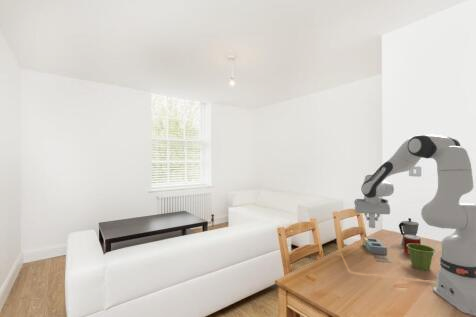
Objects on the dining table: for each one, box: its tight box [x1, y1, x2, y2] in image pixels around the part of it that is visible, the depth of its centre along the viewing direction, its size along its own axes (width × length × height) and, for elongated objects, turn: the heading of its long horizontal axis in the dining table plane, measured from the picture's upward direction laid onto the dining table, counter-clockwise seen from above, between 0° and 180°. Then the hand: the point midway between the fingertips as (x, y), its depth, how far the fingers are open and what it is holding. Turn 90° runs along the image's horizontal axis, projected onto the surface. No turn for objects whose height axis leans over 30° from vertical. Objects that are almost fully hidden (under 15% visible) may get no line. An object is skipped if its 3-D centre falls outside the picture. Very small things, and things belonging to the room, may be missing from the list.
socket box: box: [362, 237, 388, 255], centre depth 145 cm, size 16×9×5 cm, turn 165°
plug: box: [368, 213, 376, 229], centre depth 149 cm, size 4×4×10 cm
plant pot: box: [407, 243, 436, 271], centre depth 121 cm, size 12×12×11 cm
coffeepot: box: [398, 217, 420, 246], centre depth 153 cm, size 15×9×18 cm, turn 103°
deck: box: [370, 253, 391, 264], centre depth 131 cm, size 10×7×1 cm
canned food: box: [403, 235, 422, 256], centre depth 138 cm, size 8×8×11 cm
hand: (371, 220), depth 149 cm, fingers closed on plug, 4 cm apart
